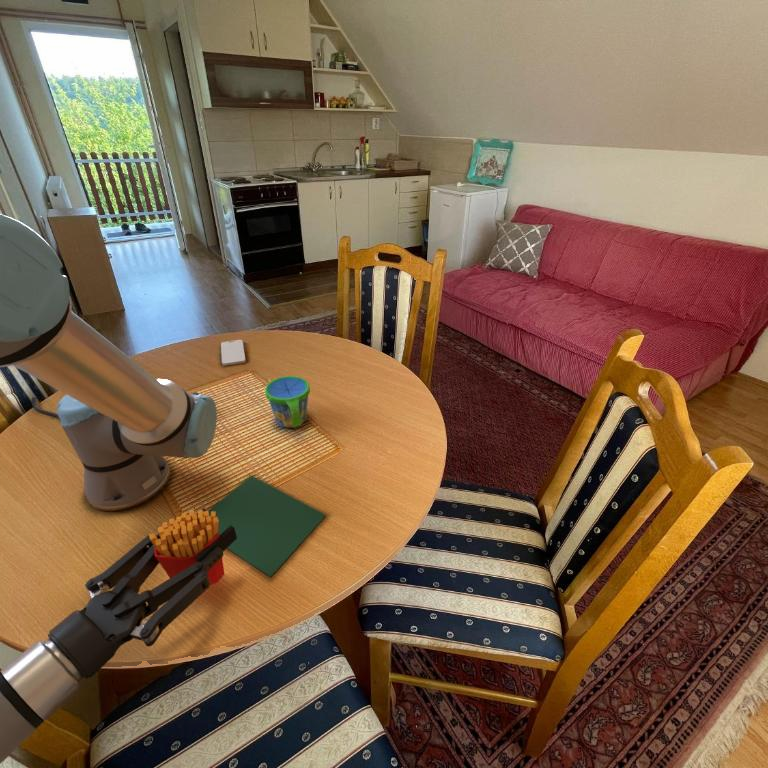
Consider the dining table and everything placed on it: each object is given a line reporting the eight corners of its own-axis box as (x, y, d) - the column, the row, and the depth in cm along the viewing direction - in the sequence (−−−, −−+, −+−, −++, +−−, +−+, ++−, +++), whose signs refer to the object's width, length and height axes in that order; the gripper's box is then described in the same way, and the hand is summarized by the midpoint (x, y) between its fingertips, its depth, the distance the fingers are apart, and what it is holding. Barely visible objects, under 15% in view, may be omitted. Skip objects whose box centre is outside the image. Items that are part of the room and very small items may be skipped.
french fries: (172, 600, 63) (147, 546, 56) (171, 576, 66) (147, 523, 59) (234, 576, 66) (218, 522, 60) (230, 555, 70) (214, 502, 63)
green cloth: (191, 525, 77) (191, 524, 77) (251, 476, 88) (251, 475, 88) (270, 577, 69) (270, 576, 69) (326, 515, 80) (325, 514, 80)
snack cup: (317, 435, 100) (314, 401, 95) (272, 443, 98) (267, 408, 92) (307, 400, 113) (304, 368, 107) (268, 406, 110) (262, 373, 105)
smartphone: (221, 364, 127) (220, 342, 139) (222, 367, 128) (220, 345, 139) (246, 360, 129) (242, 339, 141) (246, 363, 130) (243, 342, 142)
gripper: (38, 633, 55) (187, 514, 72) (120, 721, 47) (266, 564, 64) (12, 602, 51) (176, 483, 68) (97, 693, 43) (259, 533, 60)
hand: (219, 523), depth 66 cm, fingers closed on french fries, 6 cm apart
